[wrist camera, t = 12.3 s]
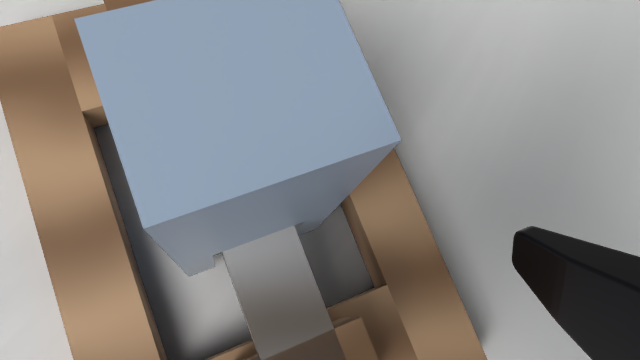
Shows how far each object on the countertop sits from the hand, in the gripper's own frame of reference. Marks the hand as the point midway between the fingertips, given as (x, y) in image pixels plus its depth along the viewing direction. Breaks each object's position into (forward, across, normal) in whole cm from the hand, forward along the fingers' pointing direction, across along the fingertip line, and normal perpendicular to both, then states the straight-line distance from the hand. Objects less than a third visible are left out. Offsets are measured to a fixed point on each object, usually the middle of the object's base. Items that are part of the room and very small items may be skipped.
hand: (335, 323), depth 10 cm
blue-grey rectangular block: (+13, 0, +4) cm, 13 cm away
